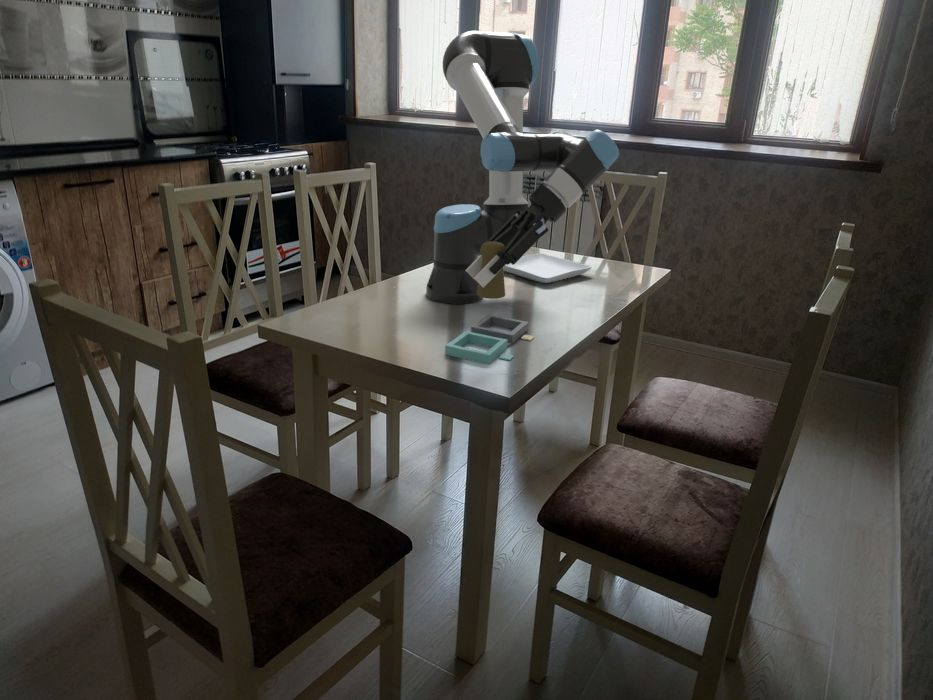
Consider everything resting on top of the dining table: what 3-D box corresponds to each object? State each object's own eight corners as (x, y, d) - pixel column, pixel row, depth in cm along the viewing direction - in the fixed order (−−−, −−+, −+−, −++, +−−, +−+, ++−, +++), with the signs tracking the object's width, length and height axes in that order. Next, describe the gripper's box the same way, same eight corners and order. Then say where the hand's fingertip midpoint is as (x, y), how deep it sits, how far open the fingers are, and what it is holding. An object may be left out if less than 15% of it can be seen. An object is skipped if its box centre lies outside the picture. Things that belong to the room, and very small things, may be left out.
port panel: (444, 354, 138) (445, 345, 138) (488, 322, 158) (488, 314, 157) (502, 367, 134) (503, 358, 133) (540, 332, 153) (540, 324, 152)
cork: (497, 289, 142) (500, 238, 138) (510, 297, 137) (513, 244, 133) (471, 291, 140) (473, 239, 136) (483, 299, 135) (486, 246, 130)
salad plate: (492, 272, 201) (493, 261, 199) (539, 262, 214) (540, 251, 213) (545, 289, 186) (546, 277, 185) (592, 277, 200) (593, 266, 198)
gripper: (585, 218, 128) (500, 304, 130) (547, 202, 144) (472, 278, 146) (562, 190, 125) (475, 279, 126) (526, 177, 141) (450, 256, 142)
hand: (474, 278), depth 136 cm, fingers closed on cork, 5 cm apart
